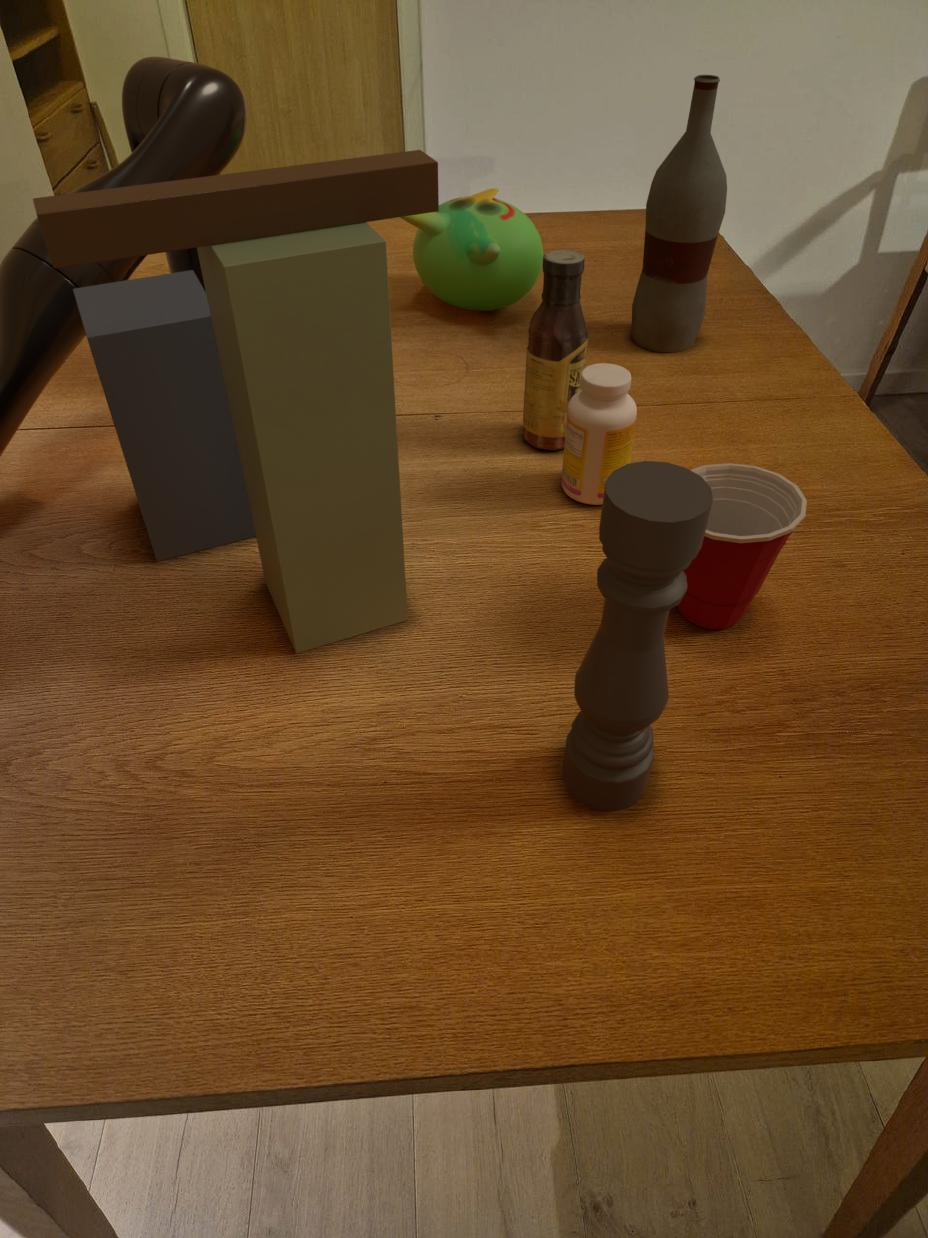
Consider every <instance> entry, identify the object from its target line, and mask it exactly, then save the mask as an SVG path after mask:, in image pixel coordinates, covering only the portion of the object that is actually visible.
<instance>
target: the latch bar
mask: <svg viewBox="0 0 928 1238" xmlns="http://www.w3.org/2000/svg"><path fill="white" fill-rule="evenodd" d="M439 197H440V196H439V162H438V161H437V160H436V159H434V158H433V157H431V156H430V155H429V154H428V153H426V152H425V151H423V150H421V149H416V150H407V151H400V152H389V153H383V154H376V155H368V156H360V157H359V156H358V157H352V158H351V157H350V158H344V159H335V160H327V161H318V162H311V163H304V164H303V163H302V164H297V165H296V164H295V165H287V166H279V167H271V168H265V169H255V170H248V171H240V172H233V173H225V174H219V175H215V176H207V177H199V178H191V179H183V180H175V181H167V182H159V183H151V184H143V185H136V186H128V187H120V188H112V189H104V190H96V191H88V192H80V193H72V194H68V193H65V194H57V195H56V194H55V195H50V196H41V197H33V198H32V202H33V206H34V209H35V213H36V216H37V217H38V220H39V224H40V227H41V230H42V233H43V236H44V239H45V242H46V245H47V248H48V252H49V255H50V258H51V261H52V264H53V267H54V269H57V268H64V267H70V266H77V265H84V264H90V263H97V262H104V261H110V260H117V259H124V258H130V257H137V256H144V255H147V256H148V255H149V256H150V255H156V254H162V253H165V252H170V251H177V250H184V249H190V248H197V247H204V246H210V245H217V244H224V243H230V242H237V241H244V240H250V239H257V238H264V237H271V236H277V235H284V234H291V233H297V232H304V231H311V230H317V229H324V228H331V227H337V226H344V225H351V224H357V223H364V222H366V223H371V222H377V221H384V220H391V219H398V218H400V217H404V216H411V215H417V214H424V213H431V212H437V211H439V205H440V204H439V200H440V198H439ZM37 217H36V218H37Z"/></svg>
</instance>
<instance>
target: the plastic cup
mask: <svg viewBox="0 0 928 1238" xmlns="http://www.w3.org/2000/svg"><path fill="white" fill-rule="evenodd" d="M690 470H691V471H692V472H694V473H696V474H698V475H699V476H701V477H702V478H703V479H704V480H705V481H706V483H707V484H708V485H709V486H710V487H711V491H712V497H713V502H712V506H711V510H710V514H709V519H708V523H707V527H706V531H705V535H704V539H703V543H702V547H701V549H700V551H699V552H698V554H697V556H696V558H695V559H693V560H692V561H691V563H690V565H689V566H688V568H687V569H685V570H683V572H684V573H685V575H686V578H687V591H686V593H685V594H684V596H683V598H682V600H681V602H680V603H679V604H678V605H677V609H678V612H679V614H680V615H681V616H682V617H683V618H684V619H685V620H686V621H688V622H689V623H691V624H693V625H695V626H697V627H700V628H703V629H708V630H726V629H728V628H731V627H734V626H735V625H736V624H737V623H738V622H739V621H740V620H741V619H742V618H743V617H744V616H745V614H747V613H746V612H747V611H748V609H749V607H750V605H751V604H752V602H753V600H754V598H755V596H756V595H757V594H758V593H759V591H760V590H761V587H762V586H763V584H764V582H765V581H766V578H767V577H768V575H769V574H770V571H771V569H772V567H773V566H774V563H775V562H776V560H777V558H778V556H779V554H780V553H781V551H782V549H783V548H784V546H785V545H786V543H787V541H788V539H789V537H790V536H791V535H792V534H793V531H794V530H795V528H796V527H797V526H799V525H800V523H801V522H802V521H804V519H805V517H806V515H807V505H808V499H807V498H806V496H805V495H804V494H803V492H802V490H801V489H800V488H799V486H798V485H797V484H795V483H794V482H793V481H791V480H789V479H788V478H787V477H785V476H783V475H782V474H781V473H778V472H775V471H771V470H769V469H766V468H762V467H760V466H757V465H748V464H740V463H732V462H727V463H714V464H704V465H701V466H698V467H695V468H692V469H690Z"/></svg>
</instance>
